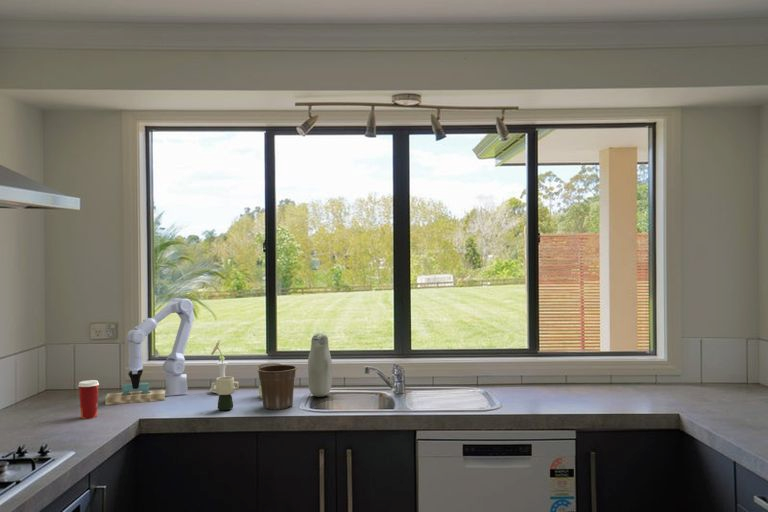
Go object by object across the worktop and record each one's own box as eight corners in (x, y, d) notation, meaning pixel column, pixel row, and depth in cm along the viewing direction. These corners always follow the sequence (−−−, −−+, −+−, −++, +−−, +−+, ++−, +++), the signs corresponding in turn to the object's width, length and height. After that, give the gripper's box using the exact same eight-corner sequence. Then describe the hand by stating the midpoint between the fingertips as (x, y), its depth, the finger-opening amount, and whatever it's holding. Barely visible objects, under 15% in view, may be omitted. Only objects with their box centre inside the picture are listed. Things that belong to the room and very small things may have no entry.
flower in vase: (215, 389, 305) (215, 337, 305) (238, 390, 303) (238, 337, 303) (204, 395, 292) (203, 340, 292) (228, 396, 290) (227, 340, 290)
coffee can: (269, 393, 296) (269, 362, 296) (286, 395, 290) (286, 364, 290) (253, 397, 287) (253, 365, 287) (271, 399, 281) (270, 367, 281)
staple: (149, 397, 287) (149, 382, 287) (148, 398, 284) (148, 383, 284) (122, 399, 284) (122, 384, 284) (122, 400, 281) (121, 385, 281)
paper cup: (104, 415, 256) (103, 380, 256) (87, 420, 249) (87, 384, 250) (90, 414, 260) (89, 379, 260) (73, 418, 253) (73, 382, 253)
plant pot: (261, 412, 258) (261, 372, 258) (254, 404, 273) (253, 366, 273) (301, 408, 264) (300, 369, 264) (292, 400, 279) (291, 363, 279)
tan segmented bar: (164, 396, 292) (164, 389, 292) (164, 400, 284) (164, 393, 284) (107, 400, 285) (107, 393, 285) (105, 404, 276) (105, 397, 276)
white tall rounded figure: (304, 397, 286) (303, 334, 286) (319, 393, 294) (318, 331, 295) (321, 399, 280) (320, 335, 281) (336, 395, 289) (335, 333, 289)
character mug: (239, 407, 269) (238, 375, 269) (238, 410, 262) (238, 378, 262) (212, 408, 266) (211, 377, 266) (211, 412, 259) (210, 380, 259)
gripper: (126, 355, 290) (127, 385, 290) (124, 359, 276) (124, 391, 276) (143, 354, 292) (144, 384, 292) (142, 358, 278) (142, 390, 278)
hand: (135, 387), depth 284 cm, fingers closed on staple, 3 cm apart
